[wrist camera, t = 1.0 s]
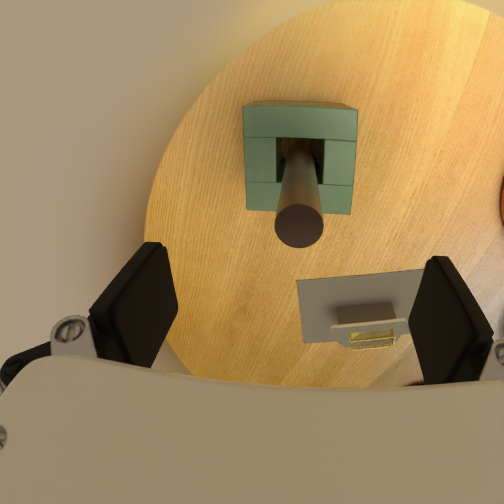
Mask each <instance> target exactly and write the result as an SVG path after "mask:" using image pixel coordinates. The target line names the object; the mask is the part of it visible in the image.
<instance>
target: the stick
mask: <svg viewBox="0 0 504 504" xmlns="http://www.w3.org/2000/svg"><path fill="white" fill-rule="evenodd" d="M274 226H275V232H276V234H277V236H278V238H279V239H280V240H281V241H282V242H283V243H285V244H286V245H288V246H290V247H294V248H305V247H308V246H311V245H313V244H314V243H315V242H317V241H318V239H319V238H320V237H321V235H322V233H323V228H324V224H323V217H322V209H321V203H320V196H319V189H318V183H317V177H316V171H315V165H314V159H313V153H312V148H311V142H310V139H309V138H291V139H290V142H289V148H288V153H287V159H286V164H285V170H284V175H283V181H282V186H281V191H280V197H279V202H278V208H277V213H276V218H275V225H274Z"/></svg>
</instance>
